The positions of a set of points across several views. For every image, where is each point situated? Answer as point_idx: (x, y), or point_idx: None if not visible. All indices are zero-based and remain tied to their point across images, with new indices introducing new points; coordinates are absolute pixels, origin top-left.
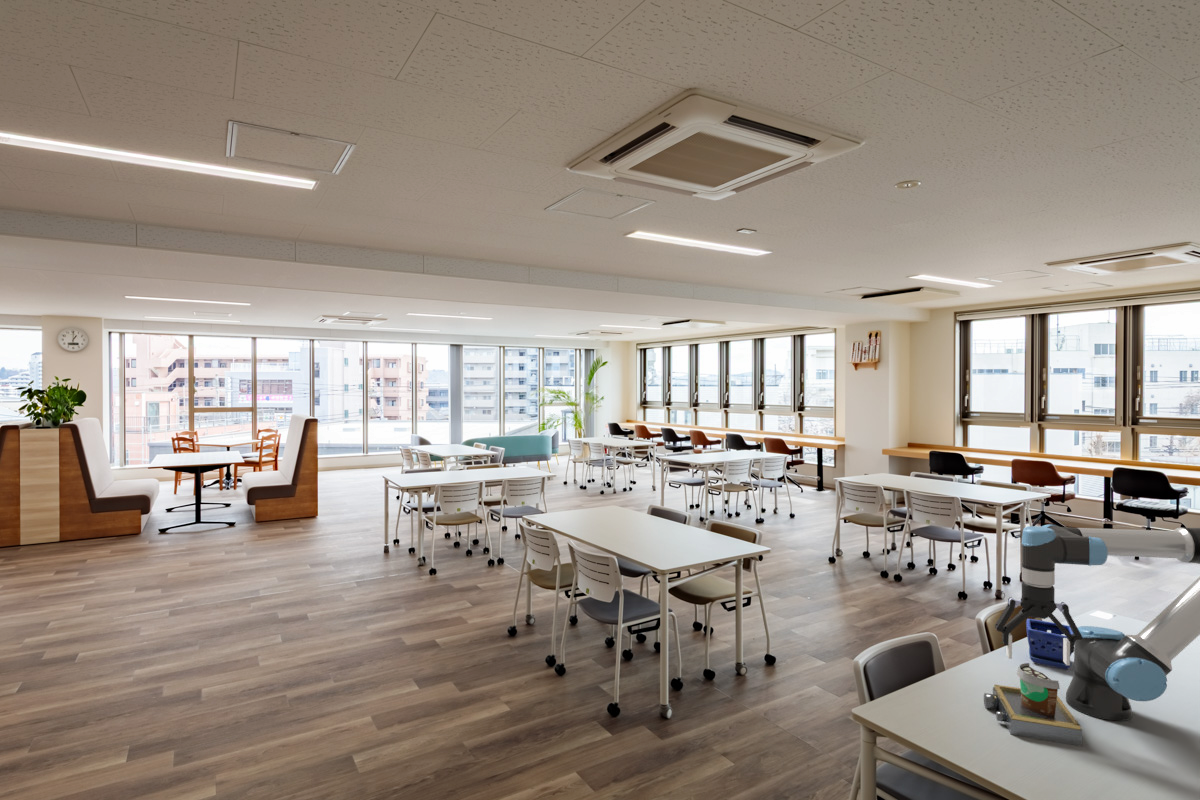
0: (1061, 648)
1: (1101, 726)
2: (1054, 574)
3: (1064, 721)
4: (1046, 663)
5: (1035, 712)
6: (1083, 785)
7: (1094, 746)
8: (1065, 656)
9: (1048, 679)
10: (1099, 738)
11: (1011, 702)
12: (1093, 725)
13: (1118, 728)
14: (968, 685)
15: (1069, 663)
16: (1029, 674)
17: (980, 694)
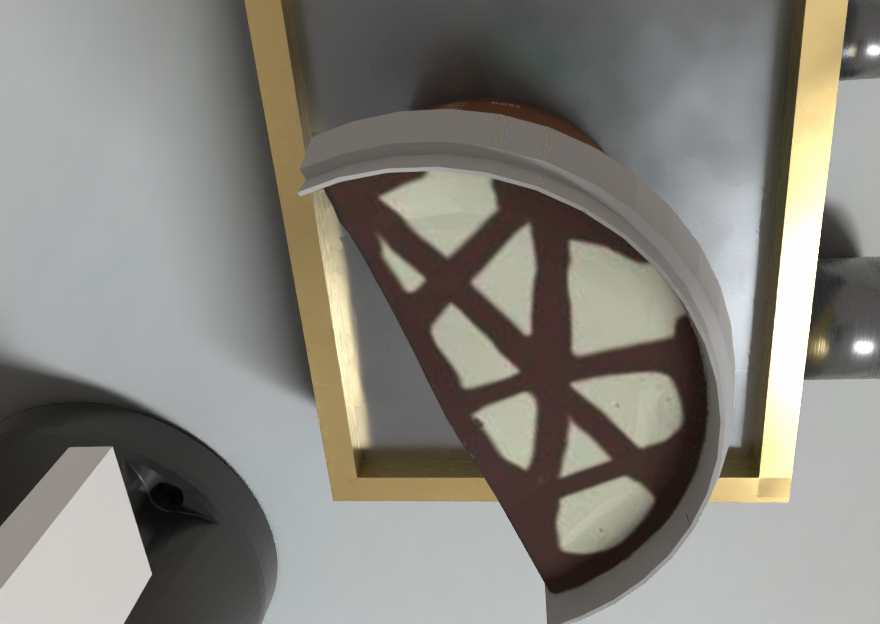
0: None
1: (116, 299)
2: None
3: (345, 25)
4: None
5: (560, 113)
6: None
7: None
8: (62, 577)
9: (409, 280)
10: (140, 97)
11: (722, 248)
12: (160, 294)
13: (26, 311)
14: (859, 598)
15: (54, 467)
16: (658, 263)
17: (819, 493)
